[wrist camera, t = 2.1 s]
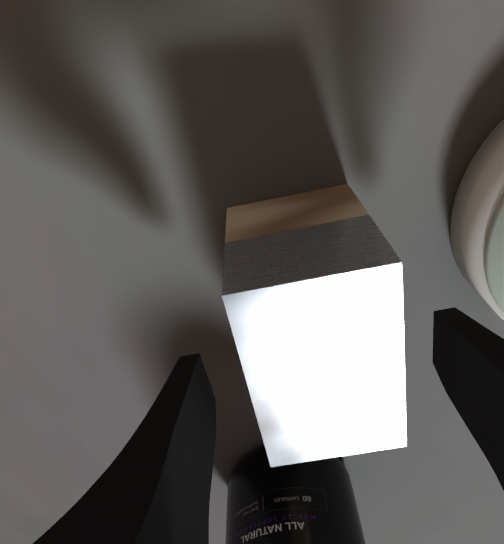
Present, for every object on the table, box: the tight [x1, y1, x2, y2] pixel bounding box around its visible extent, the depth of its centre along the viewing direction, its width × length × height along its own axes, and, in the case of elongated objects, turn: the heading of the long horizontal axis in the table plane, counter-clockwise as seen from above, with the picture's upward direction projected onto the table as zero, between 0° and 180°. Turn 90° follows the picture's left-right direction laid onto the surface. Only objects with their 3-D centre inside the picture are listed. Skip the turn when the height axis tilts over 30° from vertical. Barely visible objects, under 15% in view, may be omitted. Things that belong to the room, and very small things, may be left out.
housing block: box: [222, 184, 407, 467], centre depth 15 cm, size 4×7×6 cm, turn 11°
